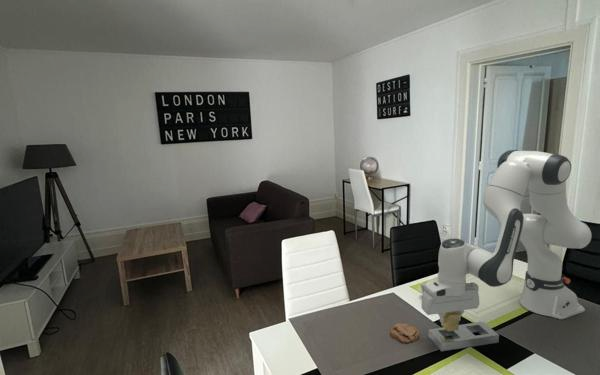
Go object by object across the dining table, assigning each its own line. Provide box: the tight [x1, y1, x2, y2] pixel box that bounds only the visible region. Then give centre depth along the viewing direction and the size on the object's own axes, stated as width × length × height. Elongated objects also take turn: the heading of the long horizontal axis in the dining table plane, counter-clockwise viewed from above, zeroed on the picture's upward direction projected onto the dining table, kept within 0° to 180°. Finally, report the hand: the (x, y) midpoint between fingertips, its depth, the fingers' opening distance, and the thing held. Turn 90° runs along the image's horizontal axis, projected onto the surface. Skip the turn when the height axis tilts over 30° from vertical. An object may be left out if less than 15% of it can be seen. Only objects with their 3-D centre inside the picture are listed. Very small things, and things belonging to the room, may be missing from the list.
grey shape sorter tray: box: [428, 321, 500, 352], centre depth 114 cm, size 22×8×3 cm, turn 98°
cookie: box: [389, 322, 420, 344], centre depth 118 cm, size 10×11×3 cm
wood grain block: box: [440, 311, 460, 331], centre depth 112 cm, size 4×4×6 cm
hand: (449, 321), depth 112 cm, fingers closed on wood grain block, 4 cm apart
